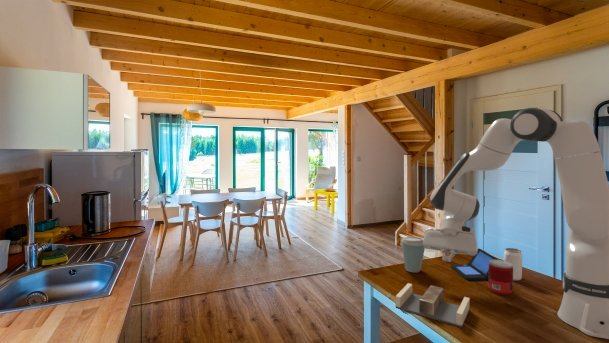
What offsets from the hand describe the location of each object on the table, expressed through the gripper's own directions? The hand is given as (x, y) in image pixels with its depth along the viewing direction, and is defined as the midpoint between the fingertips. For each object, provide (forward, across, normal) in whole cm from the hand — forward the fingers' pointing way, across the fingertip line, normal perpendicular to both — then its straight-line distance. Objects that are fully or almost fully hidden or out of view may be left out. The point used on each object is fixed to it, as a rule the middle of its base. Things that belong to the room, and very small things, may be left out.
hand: (446, 260), depth 123 cm
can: (-10, +20, +27) cm, 35 cm away
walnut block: (+14, -1, -2) cm, 14 cm away
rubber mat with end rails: (+22, 0, -6) cm, 23 cm away
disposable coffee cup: (0, -17, +16) cm, 23 cm away
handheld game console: (-8, +6, +24) cm, 26 cm away
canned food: (+2, +17, +15) cm, 23 cm away
